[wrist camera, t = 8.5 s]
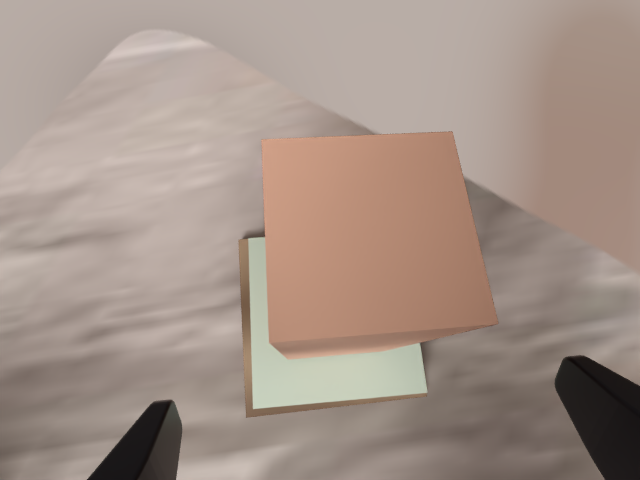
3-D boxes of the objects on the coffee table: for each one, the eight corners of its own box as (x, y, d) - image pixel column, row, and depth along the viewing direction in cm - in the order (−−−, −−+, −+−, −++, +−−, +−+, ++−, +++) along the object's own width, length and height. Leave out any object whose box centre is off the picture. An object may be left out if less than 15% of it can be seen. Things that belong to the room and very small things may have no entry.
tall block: (383, 351, 19) (498, 323, 8) (288, 359, 19) (268, 342, 8) (370, 260, 21) (452, 131, 10) (283, 266, 21) (261, 139, 9)
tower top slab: (418, 389, 21) (427, 392, 19) (256, 404, 20) (252, 409, 19) (396, 235, 23) (403, 228, 22) (251, 245, 22) (248, 238, 21)
